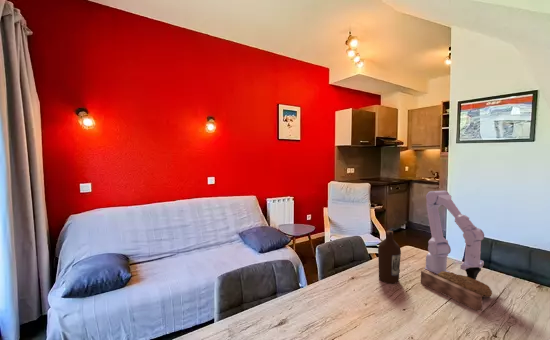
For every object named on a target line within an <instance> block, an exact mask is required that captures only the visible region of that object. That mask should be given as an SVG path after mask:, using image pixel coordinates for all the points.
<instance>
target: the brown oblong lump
mask: <svg viewBox="0 0 550 340" xmlns="http://www.w3.org/2000/svg"><path fill="white" fill-rule="evenodd" d="M437 276H439V277H441V278H443V279H445V280H448V281H450V282H452V283H454V284H457V285H459V286H461V287H464V288H466V289H468V290H470V291H473V292H475V293H477V294H479V295H482V298H483V297H488V298H490V297H492V296H493V291H492V290H491V287H490V286H489V285H488V284H485V283H484V282H481V281H480V280H477V279H476V280H475V279H473V278H470V277H467V275H463V274H455V273H454V272H451V271H449V272H445V271H442V272H441V273H438V274H437Z"/></svg>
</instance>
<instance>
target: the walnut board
mask: <svg viewBox="0 0 550 340" xmlns="http://www.w3.org/2000/svg"><path fill="white" fill-rule="evenodd" d="M420 284H422V285H424V286H427V287H428V288H430V289H432V290H434V291H436V292H438V293H441V294H442V295H445V296H446V297H449V298H450V299H453V300H454V301H457V302H459V303H461V304H462V305H465V306H466V307H469V308H471V309H472V310H475V311H477V312H480V311H482V307H483V297H482V295H479V294H477V293H475V292H473V291H470V290H468V289H466V288H464V287H461V286H459V285H457V284H454V283H452V282H450V281H448V280H445V279H443V278H441V277H439V276H438V275H437V274H435V273H434V274H433V272H431V271H428V270H426V269H424V270H421V271H420Z"/></svg>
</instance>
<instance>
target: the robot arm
mask: <svg viewBox="0 0 550 340" xmlns="http://www.w3.org/2000/svg"><path fill="white" fill-rule="evenodd" d="M425 200H426V213H427V217H428V223H429V228H430V229H429V230H430V233H431V238H430V239H429V240H428V242H427V244H428V247H427V250H428V253H426V256H425V267H424V270H426V271H428V272H430V273H434V274H435V275H438V273H441V272H442V271H445V272H450V271H448V270H447V269H448V268H447V267H448V265H447V263H448V256H449V254H450V253H451V251H452V249H451V246H450V243H449V241H448V239H446V238H445V237H444V234H443V228H442V222H441V217H440V210H439V208H440V207H441V206H444V207H445V209H447V210H448V211H449V214H451V215H452V216H453V217H454V222H455V225H457V227H458V228H459V229H460V230H461V231H462V233H463V234H462V237H463V238H464V243H465V254H464V255H465V256H464V262H462V264H460V267H459V268H460V270H463V271H465V273H466V276H467V277H470V278H473V279H475V280H477V277H478V275H479V273H480V272H481V271H482V268H483V266H484V263H485V262H484V260H482V259H481V253H482V252H481V246H482V245H481V244H482V241H483V240H484V239H485V234H484V231H483V230H482V229H481V228H479V227H477V226H475V224H474V223H473V222H472V221H471V220H470V217H469V216H467V215H466V214H462V213H461V211H460V209H459V208H458V206H457V205H456V204H455V203H454V201H453V199H452V195H450V193H449V192H448V190H445V189H444V190H434V191H433V190H431V191H428V192H427V193H426V194H425Z"/></svg>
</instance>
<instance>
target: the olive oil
mask: <svg viewBox="0 0 550 340" xmlns="http://www.w3.org/2000/svg"><path fill="white" fill-rule="evenodd" d="M377 253H378V255H377V256H378V259H377V260H378V261H377V262H378V279H379V280H380V281H381V282H383V283H386V284H389V285H390V284H397V283H399V280H400V274H401V273H400V272H401V270H400V267H401V255H402V251H401V247H400V245H399V244H398V243H397V242H396V240H394V231H393V230H386V233H385V239H384V240H382V241H381V242H380V243H379V244H378V247H377Z"/></svg>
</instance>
